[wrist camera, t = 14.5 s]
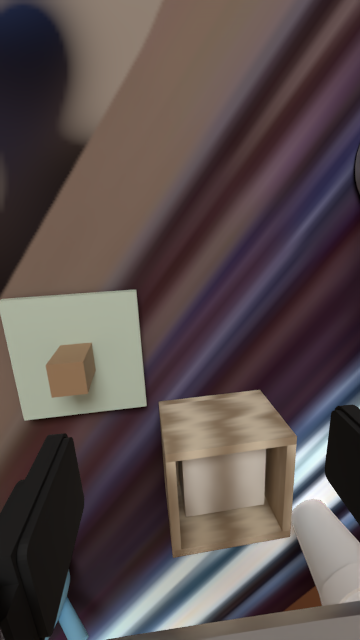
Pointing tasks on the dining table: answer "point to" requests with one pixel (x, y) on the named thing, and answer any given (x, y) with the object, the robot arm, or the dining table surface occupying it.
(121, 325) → the lid
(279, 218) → the dining table surface
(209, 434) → the box
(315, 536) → the foam cup
